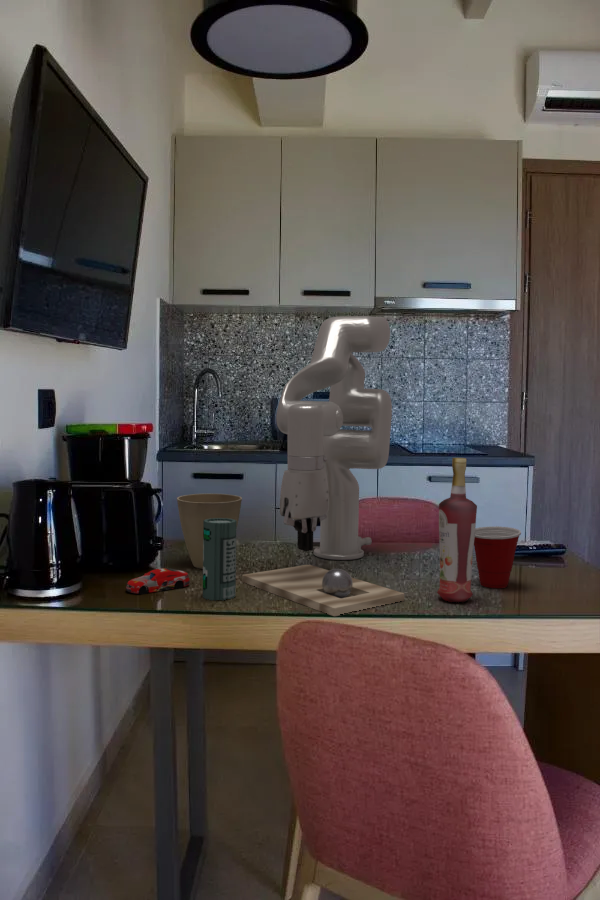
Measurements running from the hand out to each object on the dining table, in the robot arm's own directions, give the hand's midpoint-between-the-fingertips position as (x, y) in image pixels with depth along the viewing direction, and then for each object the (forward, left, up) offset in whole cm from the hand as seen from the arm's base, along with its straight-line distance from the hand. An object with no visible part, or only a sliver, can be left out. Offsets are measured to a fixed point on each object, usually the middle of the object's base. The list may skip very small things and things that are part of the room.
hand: (305, 549), depth 153 cm
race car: (+27, -14, -8) cm, 31 cm away
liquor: (-17, +26, -8) cm, 32 cm away
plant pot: (+8, -26, -8) cm, 28 cm away
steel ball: (+2, +13, -4) cm, 14 cm away
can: (+20, -2, -8) cm, 22 cm away
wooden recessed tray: (+1, +6, -7) cm, 10 cm away
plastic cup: (-33, +23, -8) cm, 41 cm away
